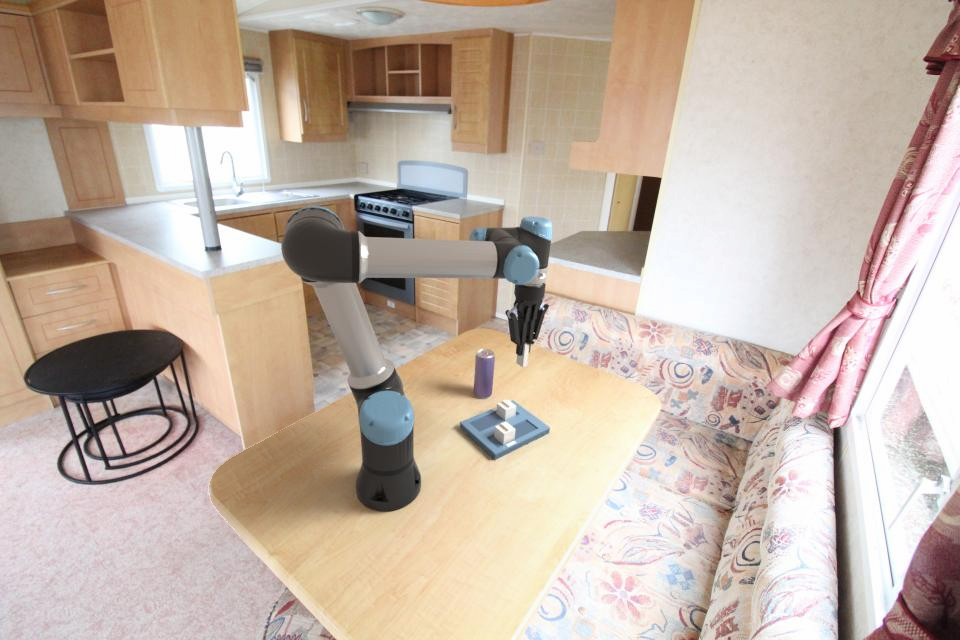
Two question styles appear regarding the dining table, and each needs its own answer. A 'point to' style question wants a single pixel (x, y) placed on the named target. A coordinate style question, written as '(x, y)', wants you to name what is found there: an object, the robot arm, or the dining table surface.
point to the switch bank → (485, 422)
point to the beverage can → (484, 373)
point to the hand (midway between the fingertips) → (521, 364)
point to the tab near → (504, 433)
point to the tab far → (506, 409)
